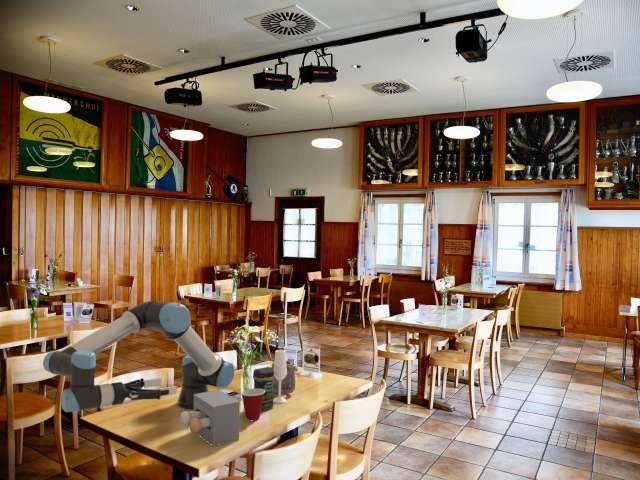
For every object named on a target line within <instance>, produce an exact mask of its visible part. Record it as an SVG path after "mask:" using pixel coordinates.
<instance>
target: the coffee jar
mask: <svg viewBox="0 0 640 480" xmlns="http://www.w3.org/2000/svg"><path fill="white" fill-rule="evenodd" d="M271 367H272V366H271ZM271 367H270V366H266V367H265V366H264V367H260V368H255V369H254V370H253V374H252V379H253V389H263V390H265V393H264V397H263V402H262V408H261V412H262V411H266V410H270V409H273V407H274V402H273V399H274V393H273V379H274V370H273V368H271Z"/></svg>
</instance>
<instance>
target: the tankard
mask: <svg viewBox="0 0 640 480" xmlns="http://www.w3.org/2000/svg"><path fill="white" fill-rule="evenodd" d="M286 367H287V375H286V377H285V378H284V379H283V380H281V395H282V394H289V393H293V392H294V391H295V390H296V376H295V375H296V374H295V373H296V372H298V371H299V368H298V366H297V365H294V362H293V361H291V360H286ZM271 368H273V370H274V361H273V362H272V363H271ZM278 392H279V380H277V379H276V378H275V377H274V379H273V394H278Z"/></svg>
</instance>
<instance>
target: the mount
mask: <svg viewBox="0 0 640 480" xmlns="http://www.w3.org/2000/svg"><path fill="white" fill-rule="evenodd" d="M240 403H241V402H240V400H238V399H237V398H234V397H233V396H231V395H229V394H227V393H225V392H224V391H223V390H220V389H214V390H210V391H208V392H203V393H198V394H194V409H193V412H197V411H201V419H203V418H208V417H210V418H211V426H210V427H205V428H201V430H200V431H199V432H195V434H196V433H197V434H198V435H197V434H196V435H197V436H198V437H200V436H201V437H202V439H203V440H204V439H205V440H206V441H208V442H209V443H210V444H212V445H213V446H212V447H215V446H214V445H217V446H219V445H218V444H221V445H224V444H223V443H225V444H228V443H231V441H232V442H235V441H238V440H240ZM201 437H200V438H201ZM205 440H204V441H205ZM206 441H205V442H206ZM208 442H207V443H208ZM227 442H228V443H227ZM209 443H208V444H209ZM210 444H209V445H210Z"/></svg>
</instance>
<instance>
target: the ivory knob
mask: <svg viewBox="0 0 640 480" xmlns="http://www.w3.org/2000/svg"><path fill="white" fill-rule="evenodd" d="M196 417H198V418H199V419H201V411H197V412H194V411H192V412H190V410H187V411H182V412H180V417H179V419H180V424H181V425H182V426H183V427H185V426H189V421H190V419H192V418H196Z"/></svg>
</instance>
